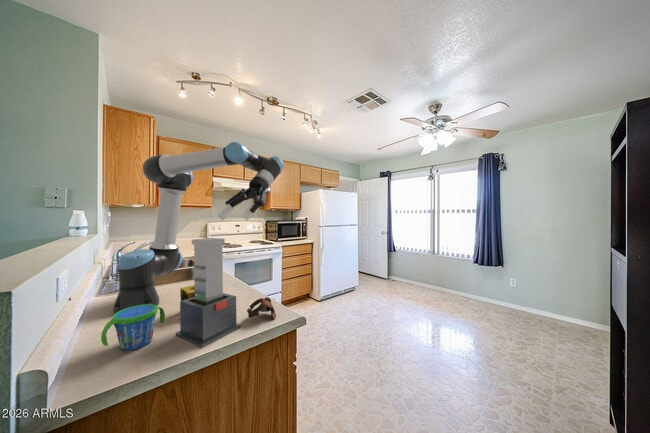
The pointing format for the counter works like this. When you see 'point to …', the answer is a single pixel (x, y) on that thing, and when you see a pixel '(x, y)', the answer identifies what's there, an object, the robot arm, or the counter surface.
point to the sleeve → (207, 320)
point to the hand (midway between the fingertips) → (232, 218)
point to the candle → (187, 292)
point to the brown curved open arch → (261, 308)
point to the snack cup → (134, 326)
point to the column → (208, 270)
